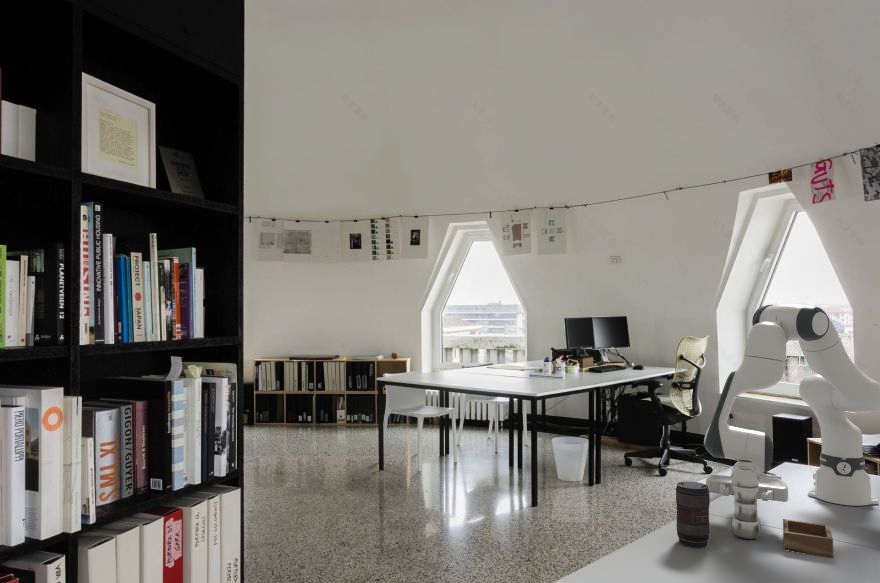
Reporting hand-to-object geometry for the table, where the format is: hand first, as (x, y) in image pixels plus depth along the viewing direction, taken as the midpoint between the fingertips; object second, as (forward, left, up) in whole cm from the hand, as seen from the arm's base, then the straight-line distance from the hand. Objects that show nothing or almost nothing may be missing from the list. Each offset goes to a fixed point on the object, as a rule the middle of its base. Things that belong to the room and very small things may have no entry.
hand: (745, 495), depth 170 cm
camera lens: (+11, -12, -11) cm, 20 cm away
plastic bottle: (0, 0, -11) cm, 11 cm away
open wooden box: (0, +14, -11) cm, 18 cm away
